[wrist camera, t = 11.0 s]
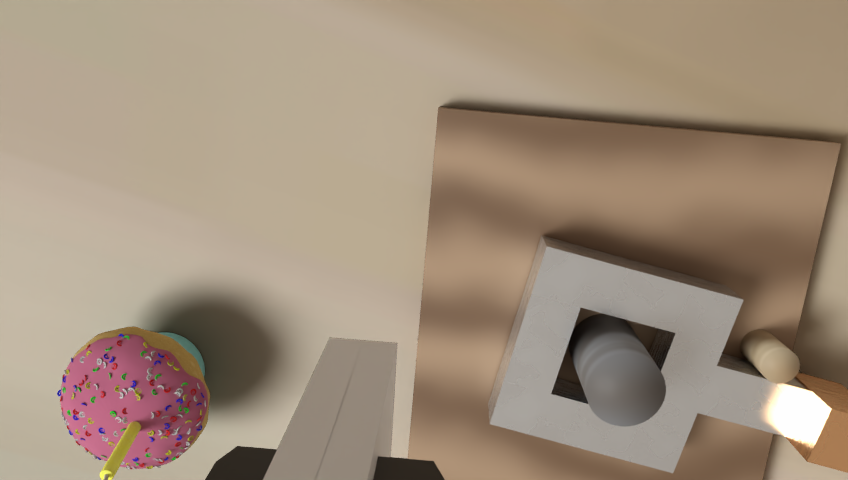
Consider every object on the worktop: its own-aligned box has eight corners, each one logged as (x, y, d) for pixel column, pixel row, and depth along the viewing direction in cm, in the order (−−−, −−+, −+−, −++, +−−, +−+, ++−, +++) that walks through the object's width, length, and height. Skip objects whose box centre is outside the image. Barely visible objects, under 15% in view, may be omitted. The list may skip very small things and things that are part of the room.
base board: (439, 107, 39) (433, 114, 32) (829, 141, 38) (912, 157, 31) (404, 502, 45) (393, 581, 38) (738, 539, 44) (789, 626, 37)
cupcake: (245, 326, 43) (163, 422, 31) (219, 442, 45) (133, 571, 33) (114, 289, 43) (-18, 370, 31) (93, 406, 45) (-37, 524, 33)
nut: (488, 403, 41) (491, 445, 37) (541, 235, 39) (552, 257, 34) (793, 485, 42) (835, 537, 37) (868, 324, 39) (923, 358, 34)
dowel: (744, 327, 40) (766, 348, 37) (778, 331, 40) (803, 351, 37) (737, 359, 40) (758, 381, 37) (771, 362, 40) (795, 385, 37)
